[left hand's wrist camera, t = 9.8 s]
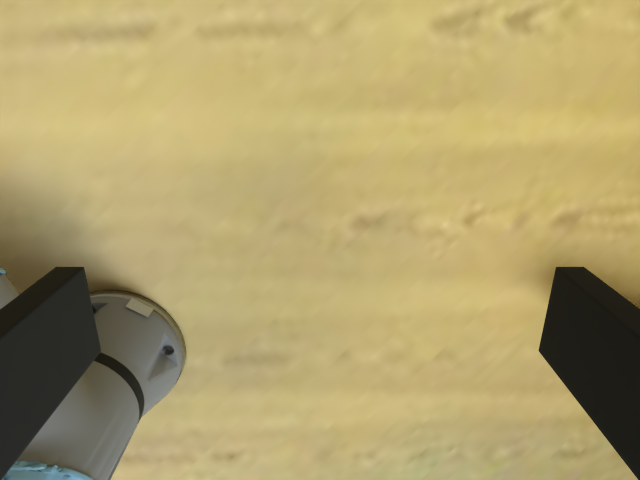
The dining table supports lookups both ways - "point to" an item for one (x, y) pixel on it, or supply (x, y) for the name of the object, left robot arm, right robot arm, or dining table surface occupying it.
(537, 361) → the dining table surface
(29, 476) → the left robot arm
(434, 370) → the dining table surface
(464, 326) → the dining table surface
